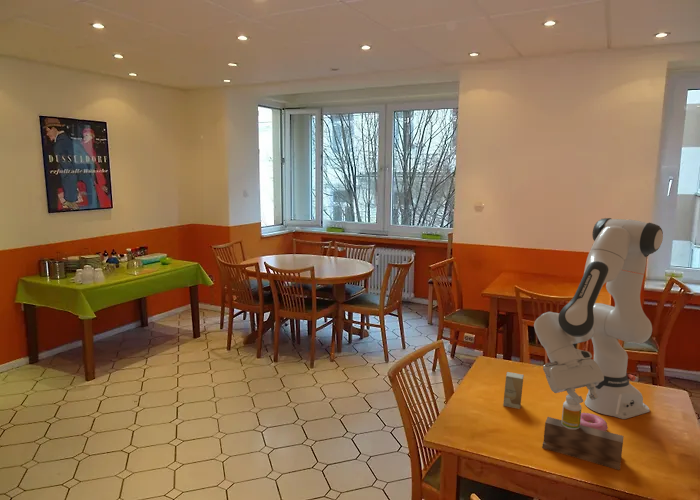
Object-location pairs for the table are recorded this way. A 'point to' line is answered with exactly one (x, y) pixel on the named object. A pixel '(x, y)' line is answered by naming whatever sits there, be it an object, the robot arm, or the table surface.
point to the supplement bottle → (571, 414)
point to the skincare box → (513, 390)
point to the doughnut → (593, 421)
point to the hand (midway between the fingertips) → (587, 400)
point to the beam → (584, 443)
